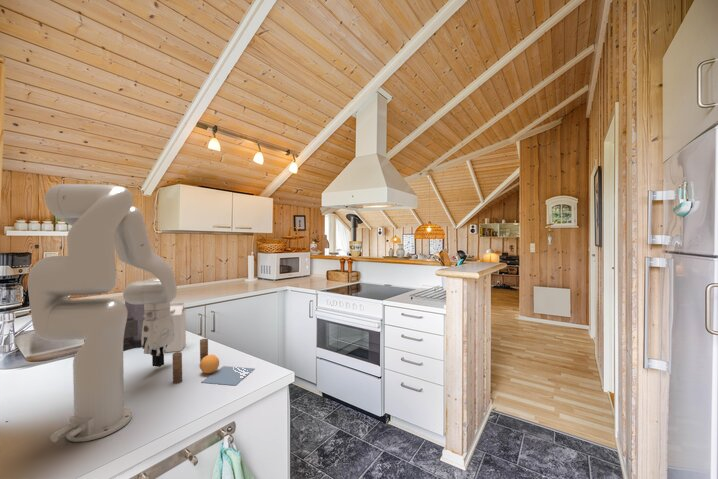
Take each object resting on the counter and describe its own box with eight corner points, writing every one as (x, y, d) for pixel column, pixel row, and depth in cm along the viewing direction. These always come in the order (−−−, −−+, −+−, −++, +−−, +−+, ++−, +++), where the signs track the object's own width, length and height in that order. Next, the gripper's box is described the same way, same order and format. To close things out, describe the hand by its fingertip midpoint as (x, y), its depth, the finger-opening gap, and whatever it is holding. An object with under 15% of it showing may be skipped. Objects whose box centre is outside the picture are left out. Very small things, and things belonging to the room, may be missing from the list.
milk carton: (166, 346, 130) (166, 301, 129) (185, 345, 132) (185, 300, 132) (161, 353, 123) (160, 305, 123) (181, 351, 125) (181, 304, 125)
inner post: (178, 383, 98) (177, 355, 98) (170, 383, 99) (170, 355, 98) (184, 379, 101) (183, 352, 101) (176, 379, 101) (176, 352, 101)
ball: (203, 379, 103) (215, 368, 102) (192, 365, 104) (205, 353, 103) (214, 373, 109) (226, 362, 108) (204, 359, 110) (216, 348, 109)
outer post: (205, 366, 111) (204, 341, 111) (198, 365, 112) (198, 340, 111) (209, 363, 114) (209, 338, 114) (203, 362, 114) (203, 338, 114)
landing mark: (235, 385, 97) (235, 385, 97) (201, 382, 99) (201, 382, 99) (254, 369, 109) (254, 368, 109) (223, 366, 111) (223, 366, 111)
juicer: (159, 332, 149) (158, 282, 148) (175, 339, 139) (174, 285, 139) (76, 352, 124) (75, 291, 123) (89, 362, 115) (88, 296, 114)
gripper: (149, 319, 100) (149, 376, 100) (182, 308, 115) (183, 357, 115) (129, 318, 101) (129, 374, 102) (164, 307, 116) (165, 356, 116)
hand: (158, 365), depth 108 cm, fingers closed
